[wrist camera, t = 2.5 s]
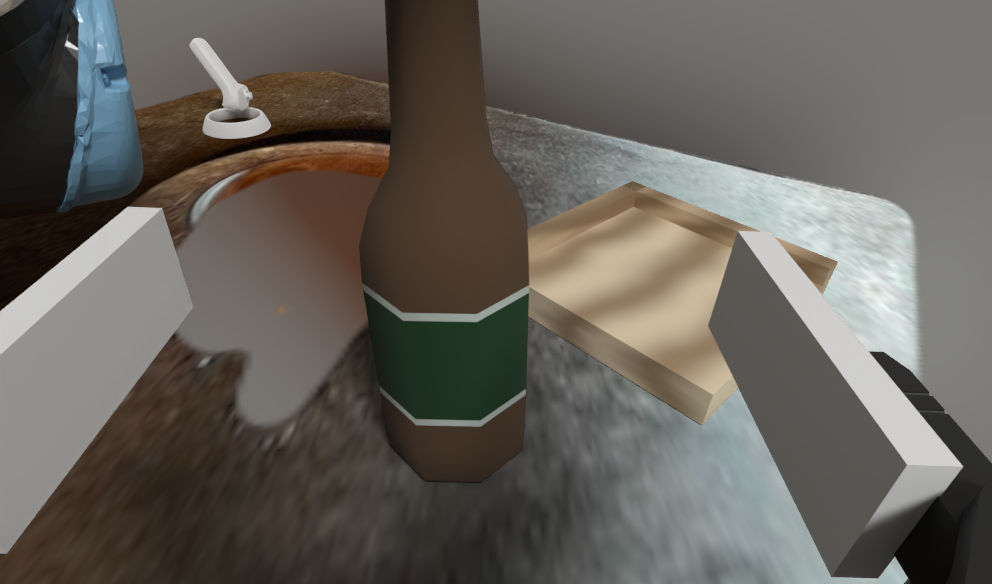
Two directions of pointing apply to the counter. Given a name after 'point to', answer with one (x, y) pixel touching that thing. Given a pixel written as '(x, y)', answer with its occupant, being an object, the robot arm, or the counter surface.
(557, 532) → the counter surface
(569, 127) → the counter surface
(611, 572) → the counter surface
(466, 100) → the beer bottle
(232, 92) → the white ring with handle
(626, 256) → the wooden tray
